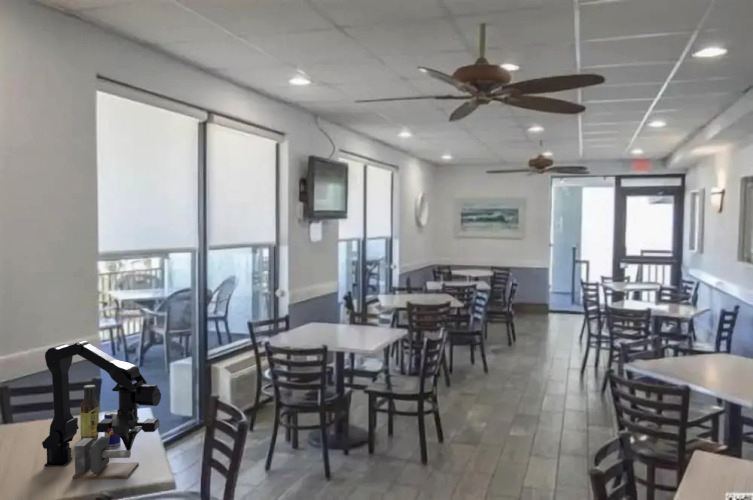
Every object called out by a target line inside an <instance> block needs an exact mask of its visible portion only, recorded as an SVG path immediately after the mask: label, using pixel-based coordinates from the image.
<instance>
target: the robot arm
mask: <svg viewBox="0 0 753 500" xmlns="http://www.w3.org/2000/svg"><path fill="white" fill-rule="evenodd" d="M74 356H80V357H81V358H83V359H84V360H86V361H88V362H90V363H91V364H92V365H95V366H96V367H98V368H100V369H102V370H103V371H104V372H106V373H107V374H108V375H109V377H110V378H111V380H113V382H115V383H116V384H115V386H114V387H113V388H112V389H111V391H112V392H117V393H118V408H117V410H116V411H118V412H117V416H116V418H115V420H114V419H104V418H103V419H102V420H100V421H99V423H98V424H97V432H99V433H105V432H107V431H108V430H109V428H113V433H114V434H116V435H119V436H120V437H121V441H122V442H123V446H124V447H125V450H132V448H133V444H134V442H135V439H136V437H137V434H139V433H140V432H141V431H143V432H144V433H154V432H156V431H157V429H159V427H160V420H159V419H158V418H147V419H145V420H144V421H139V420H140V417H139V416H138V415H139V414H138V410H139V406H147V407H157V406H159V404H160V402H161V399H162V392H161V390H160V388H158V384H147V383H148V382H147V381H146V379H145V378H144V377H143V375H142V374H141V372H140V369H139V367H138V365H136V364H133V363H131V362H128V361H122V360H118V359H117V358H114V357H112V356H111V355H110V354H108V353H106V352H104V351H102V350H100V348H98V347H95V346H94V345H92V344H91V343H90V342H89V341H88V340H81V341H79V342H75V343H73V344H66V343H64V344H63V343H62V344H59V345H56V346H53V347H50V348H48V349H47V350H46V351H45V353H44V359H45V363H46V367H47V369H48V370H49V372H50V373H51V379H52V380H51V381H52V382H51V383H52V400H53V418H52V420H51V423H50V425H49V431H48V432H49V435H48V436H46V438H44V440H43V441H42V442H41V445H42V448H43V449H44V450H46V462H45V464H44V466H45V467H64V466H66V465H67V464H68V463H69V462H70V461H71V460H73V457H72V447H70V442H72V441H73V439H74V437H75V436H76V434H77V433H78V430H79V429H80V428H79V425H78V424H79V423H78V422H79V418H78V417H76V416H75V417H74V415H72V414H71V413H72V412H71V400H70V398H71V397H70V381H69V379H70V378H69V371H70V368H71V366H72V363H73V357H74ZM134 382H135V383H134Z"/></svg>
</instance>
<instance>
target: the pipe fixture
mask: <svg viewBox="0 0 753 500" xmlns="http://www.w3.org/2000/svg"><path fill="white" fill-rule="evenodd" d="M93 443H94V440H93V438H84V439H82V440H81V439H80V441H79V442H78V443H77V444H75V445H74V474H73V475H72V476H71V477H72V478H71V479H72V480H127V479H128V478H130V476H131V475H132V474H133V473H134V471H136V469H137V468H138V467H139V466H140V465H139V464H140V463H139V462H134V461H133V462H109V463H108V464H107V465H106V466H105V467H104V468H103V469H102V470H101V471H100V472H91V445H92V444H93ZM131 450H132V449H131ZM131 450H126V449H119V450H118V449H109V450H101V452H102V458H109V459H118V458H119V459H130V458H131V455H132V452H131Z"/></svg>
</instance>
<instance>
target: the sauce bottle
mask: <svg viewBox="0 0 753 500" xmlns="http://www.w3.org/2000/svg"><path fill="white" fill-rule="evenodd" d="M83 398H84V399H83V400H82V401H81V403H80V411H79V413H80V414H79V415H80V428H79V429H80V441H81V440H82V439H84V438H93V441H94V440H98V439H99V434H100V432H97V424H98V423H99V422H100V410H99V409H100V406H99V404H98V400H97V399H96V385H95V384H87V385H84V386H83Z"/></svg>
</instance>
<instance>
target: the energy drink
mask: <svg viewBox="0 0 753 500" xmlns="http://www.w3.org/2000/svg"><path fill="white" fill-rule="evenodd" d="M117 412H118V411H117V410H110V411H106V412H105V413H104V416H103V419H114V420H115V418H116V416H117ZM104 436H109V449H113V448H117V447H120V445H121V441H122V439H121V437H120V436H119V435H116V434H114V433H113V428H109V430H108V431H107V432H104Z"/></svg>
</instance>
